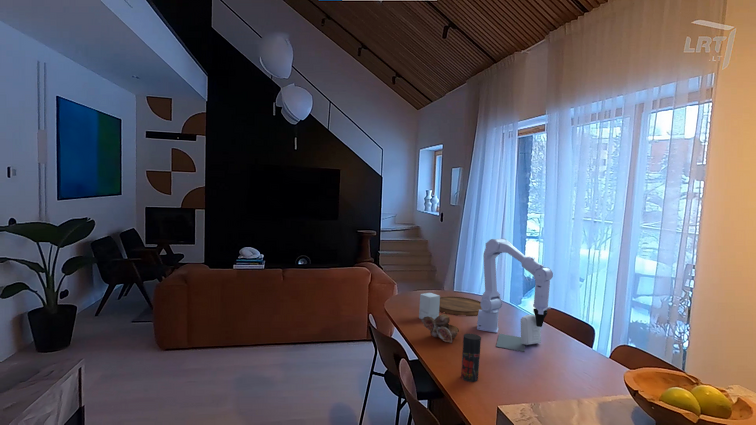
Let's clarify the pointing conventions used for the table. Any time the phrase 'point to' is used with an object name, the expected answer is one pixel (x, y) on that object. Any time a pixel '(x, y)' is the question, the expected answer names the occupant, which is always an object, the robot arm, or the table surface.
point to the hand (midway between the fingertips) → (539, 326)
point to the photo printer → (530, 330)
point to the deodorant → (470, 357)
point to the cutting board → (459, 306)
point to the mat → (510, 342)
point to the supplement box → (429, 305)
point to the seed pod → (441, 327)
